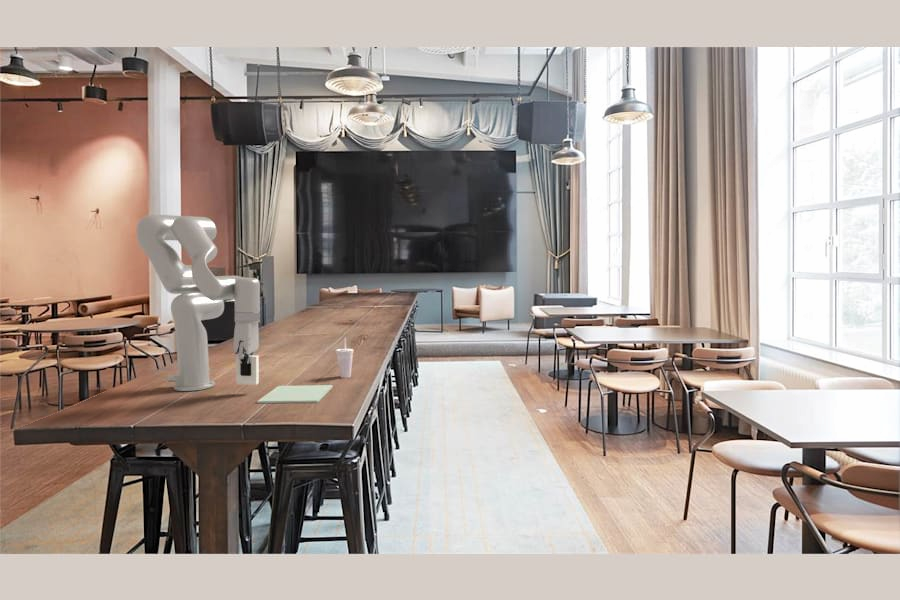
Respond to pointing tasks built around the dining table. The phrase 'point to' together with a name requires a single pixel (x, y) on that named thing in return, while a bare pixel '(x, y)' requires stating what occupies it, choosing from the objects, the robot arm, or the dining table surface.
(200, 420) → the dining table surface
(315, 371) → the dining table surface
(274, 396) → the mat
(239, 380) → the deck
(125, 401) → the dining table surface
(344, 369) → the smoothie
